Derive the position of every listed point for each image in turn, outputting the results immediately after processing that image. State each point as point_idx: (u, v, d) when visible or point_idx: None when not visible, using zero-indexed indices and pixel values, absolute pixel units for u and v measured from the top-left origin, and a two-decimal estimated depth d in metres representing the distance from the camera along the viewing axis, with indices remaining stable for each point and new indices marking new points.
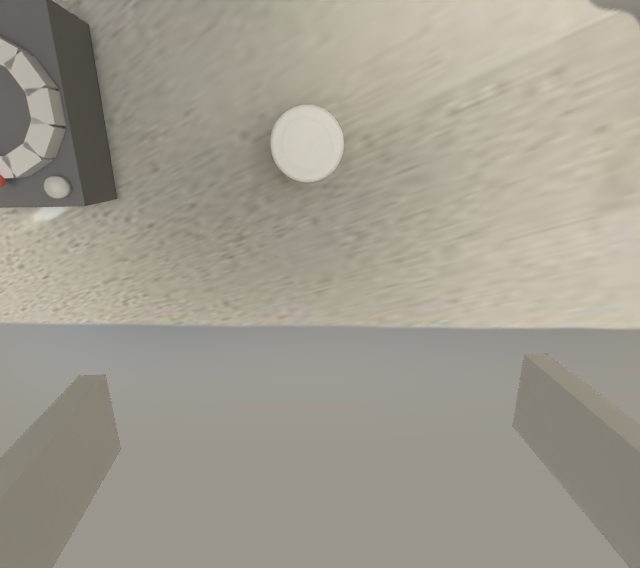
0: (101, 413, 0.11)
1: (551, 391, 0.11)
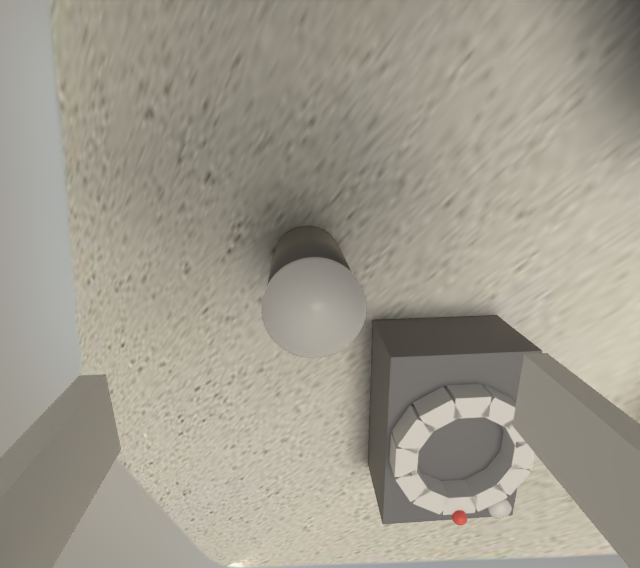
0: (101, 413, 0.11)
1: (552, 391, 0.11)
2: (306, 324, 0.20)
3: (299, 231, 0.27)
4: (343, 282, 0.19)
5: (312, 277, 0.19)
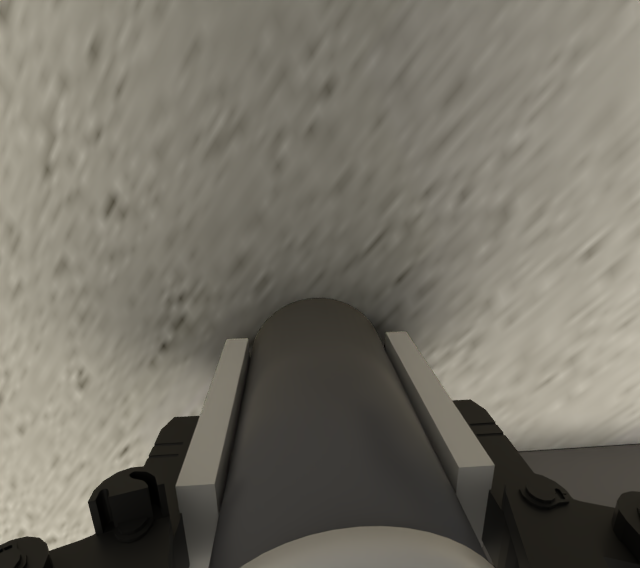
0: None
1: (395, 362, 0.13)
2: None
3: (302, 318, 0.13)
4: None
5: None
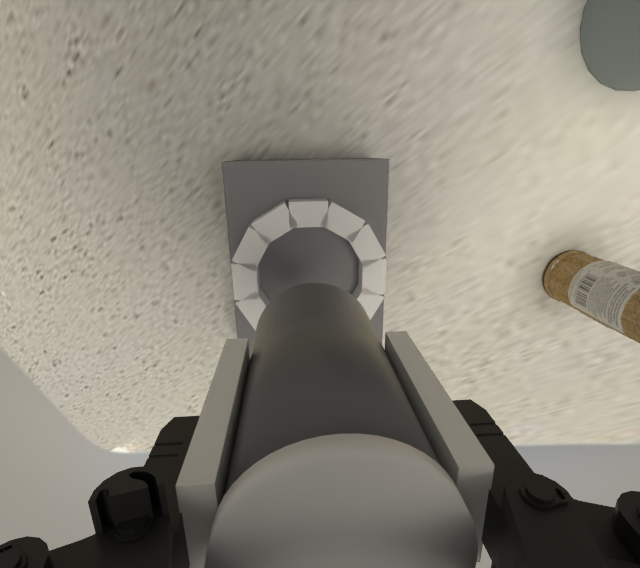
0: None
1: (395, 361, 0.13)
2: None
3: (300, 298, 0.15)
4: (423, 504, 0.07)
5: (340, 497, 0.07)
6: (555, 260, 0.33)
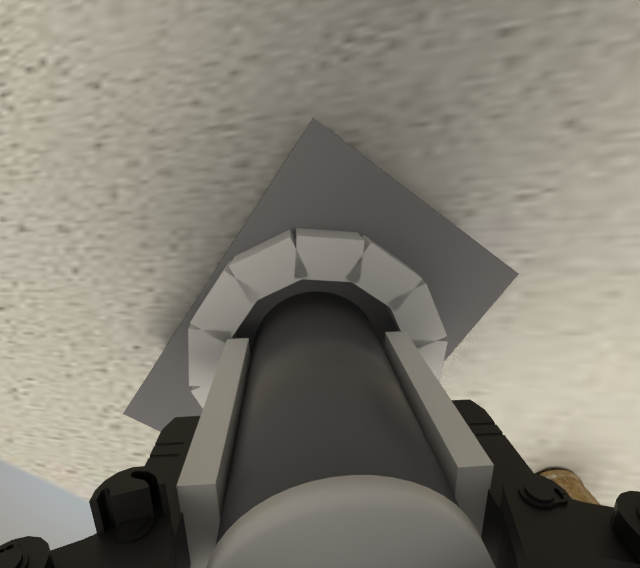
0: (248, 369, 0.14)
1: (395, 361, 0.13)
2: None
3: (312, 307, 0.14)
4: (452, 565, 0.06)
5: (365, 549, 0.06)
6: (552, 473, 0.26)
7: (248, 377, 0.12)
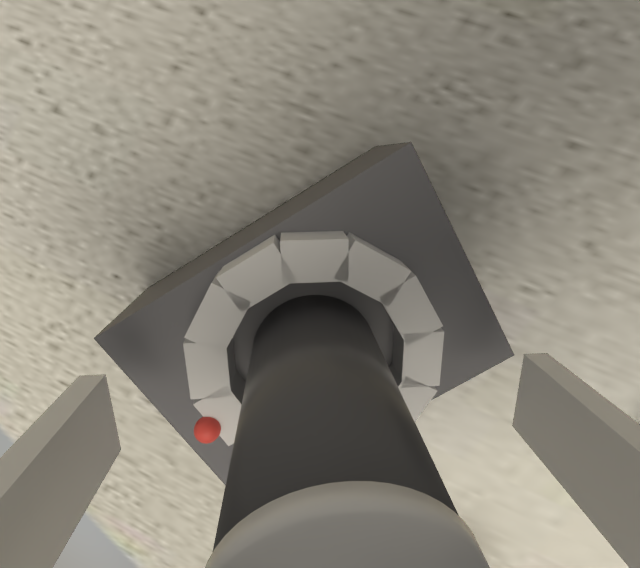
0: (101, 413, 0.11)
1: (551, 390, 0.11)
2: None
3: (320, 310, 0.14)
4: None
5: (377, 556, 0.06)
6: None
7: (251, 372, 0.12)
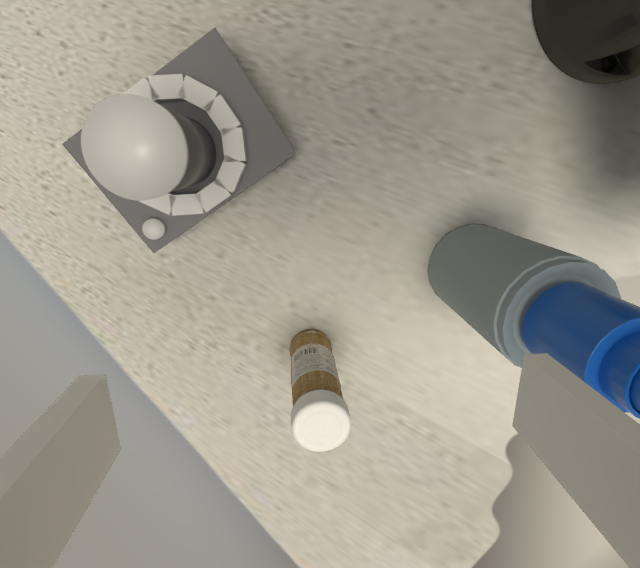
0: (101, 413, 0.11)
1: (552, 391, 0.11)
2: (124, 161, 0.20)
3: None
4: (165, 127, 0.20)
5: (135, 113, 0.20)
6: (313, 331, 0.41)
7: None
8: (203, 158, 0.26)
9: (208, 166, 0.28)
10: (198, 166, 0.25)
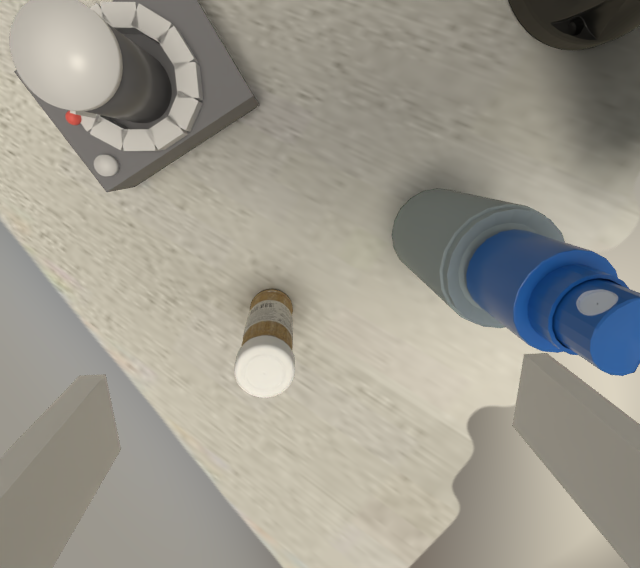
0: (101, 413, 0.11)
1: (551, 391, 0.11)
2: (54, 66, 0.20)
3: None
4: (97, 33, 0.20)
5: (66, 16, 0.19)
6: (274, 290, 0.41)
7: None
8: (149, 85, 0.25)
9: (159, 99, 0.28)
10: (142, 90, 0.24)
